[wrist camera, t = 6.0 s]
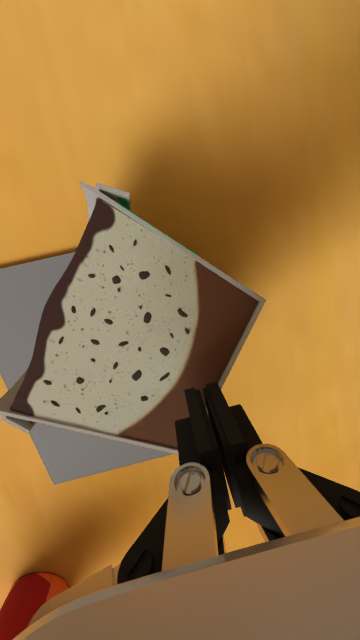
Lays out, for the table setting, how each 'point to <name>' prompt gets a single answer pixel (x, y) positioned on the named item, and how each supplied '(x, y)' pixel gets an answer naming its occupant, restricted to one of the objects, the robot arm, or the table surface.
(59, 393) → the food container
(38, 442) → the mat
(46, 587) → the paper cup
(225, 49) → the table surface
